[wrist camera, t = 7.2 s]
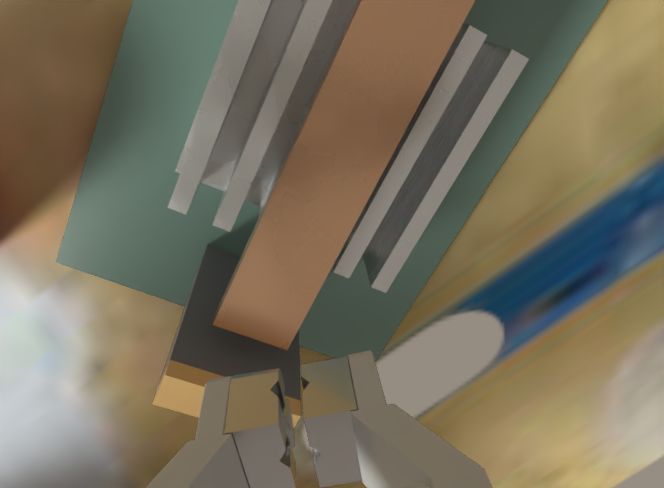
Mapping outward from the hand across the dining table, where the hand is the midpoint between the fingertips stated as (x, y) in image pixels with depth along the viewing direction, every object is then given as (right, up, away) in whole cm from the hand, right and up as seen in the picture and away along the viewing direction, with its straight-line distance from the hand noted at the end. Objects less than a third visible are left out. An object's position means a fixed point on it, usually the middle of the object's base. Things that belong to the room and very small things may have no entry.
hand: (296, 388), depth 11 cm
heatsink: (+1, +10, +13) cm, 17 cm away
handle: (+1, +7, +7) cm, 10 cm away
